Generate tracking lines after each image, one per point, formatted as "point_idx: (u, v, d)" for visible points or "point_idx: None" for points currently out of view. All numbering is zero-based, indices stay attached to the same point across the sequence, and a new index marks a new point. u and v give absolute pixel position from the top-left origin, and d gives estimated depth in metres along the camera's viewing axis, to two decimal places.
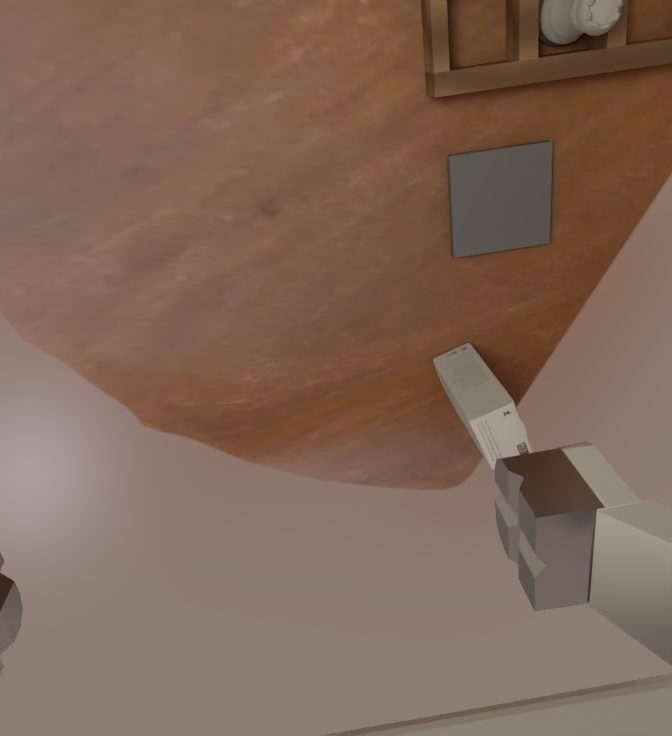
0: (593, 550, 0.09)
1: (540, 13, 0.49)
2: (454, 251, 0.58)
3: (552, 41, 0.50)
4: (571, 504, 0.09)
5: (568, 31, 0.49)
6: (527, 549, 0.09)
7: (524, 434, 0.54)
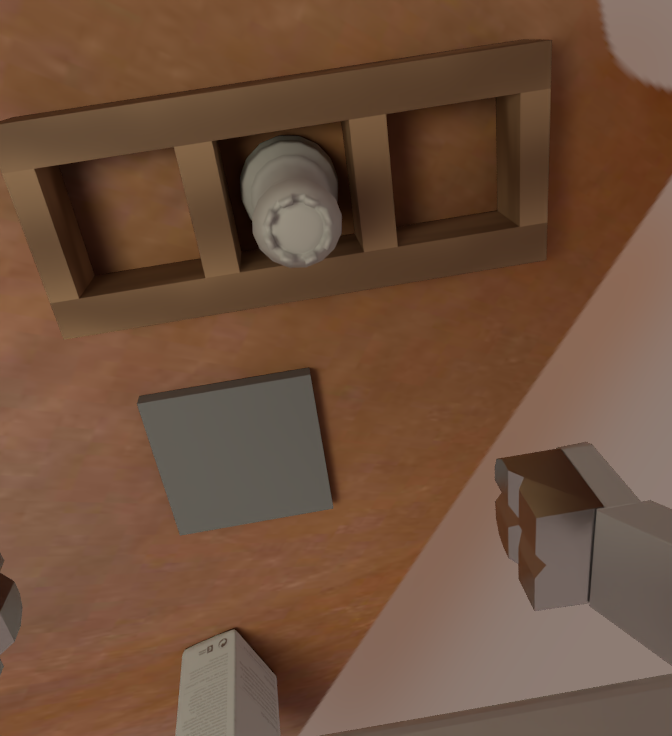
0: (593, 551, 0.09)
1: (242, 192, 0.28)
2: (178, 527, 0.37)
3: None
4: (571, 504, 0.09)
5: None
6: (527, 549, 0.09)
7: None
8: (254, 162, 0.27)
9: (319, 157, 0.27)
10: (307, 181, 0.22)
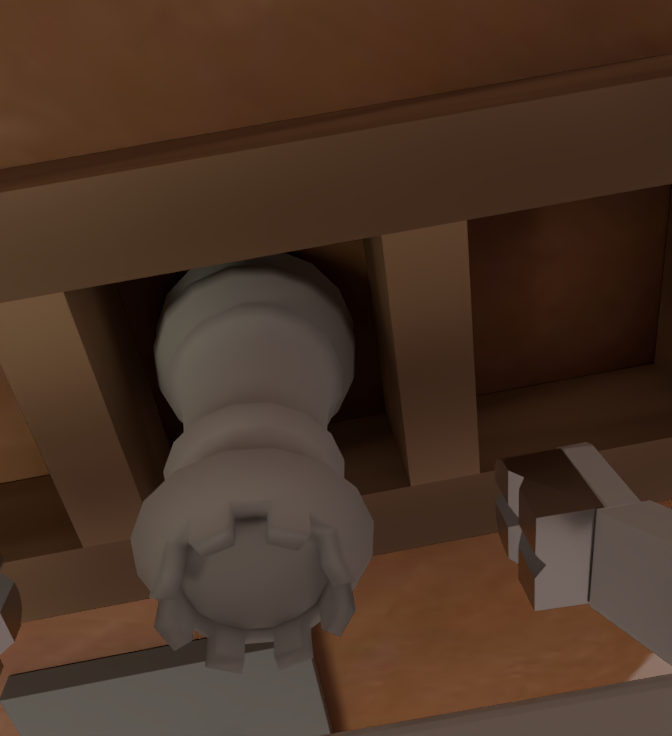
0: (593, 551, 0.09)
1: None
2: None
3: None
4: (571, 504, 0.09)
5: None
6: (527, 549, 0.09)
7: None
8: (176, 316, 0.13)
9: (314, 302, 0.13)
10: (278, 455, 0.08)
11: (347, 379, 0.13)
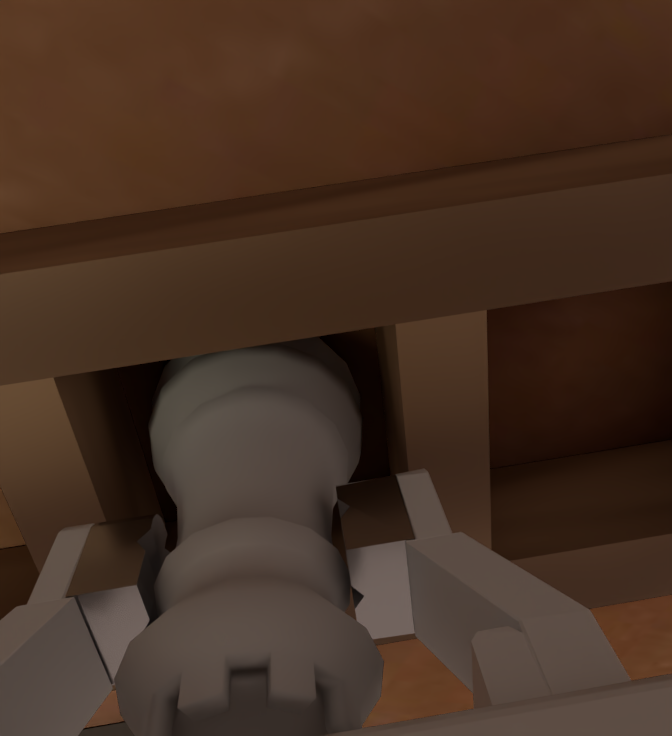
0: (410, 581, 0.09)
1: (152, 447, 0.13)
2: None
3: None
4: (384, 535, 0.09)
5: None
6: None
7: None
8: (173, 395, 0.12)
9: (320, 383, 0.12)
10: (280, 597, 0.07)
11: (353, 461, 0.13)
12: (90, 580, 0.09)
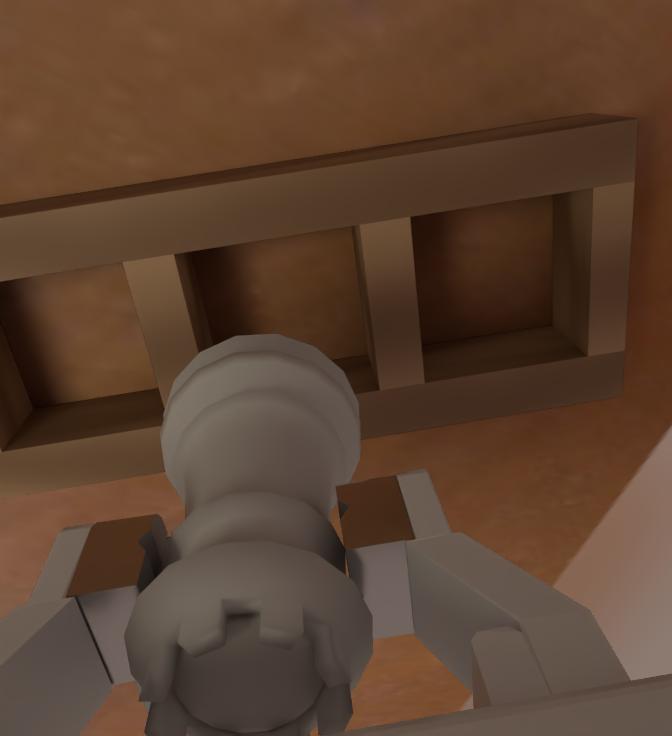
0: (410, 581, 0.09)
1: None
2: (146, 703, 0.29)
3: None
4: (384, 535, 0.09)
5: None
6: None
7: None
8: (181, 402, 0.13)
9: (318, 385, 0.13)
10: (271, 548, 0.08)
11: (352, 461, 0.13)
12: (89, 579, 0.09)
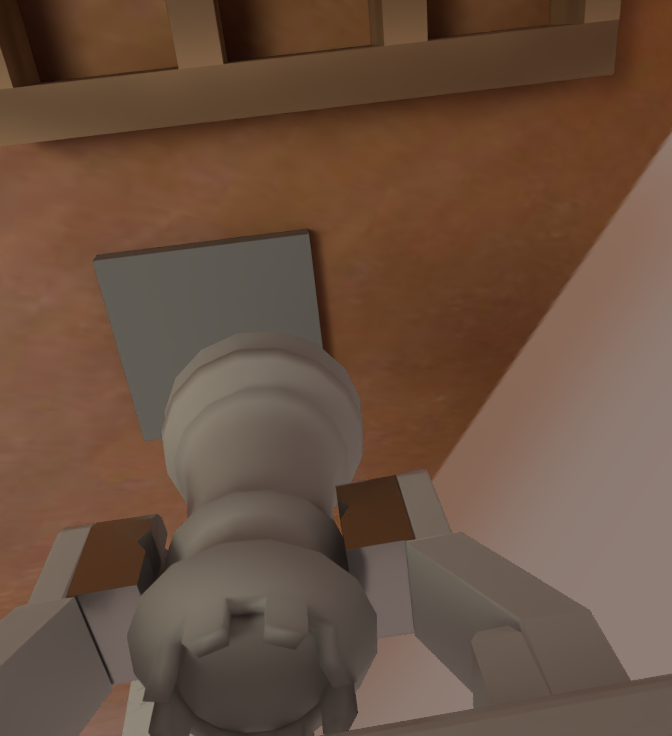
0: (410, 582, 0.09)
1: (165, 453, 0.13)
2: (143, 430, 0.30)
3: None
4: (384, 535, 0.09)
5: None
6: None
7: None
8: (183, 400, 0.13)
9: (319, 384, 0.13)
10: (275, 547, 0.08)
11: (355, 459, 0.13)
12: (90, 579, 0.09)
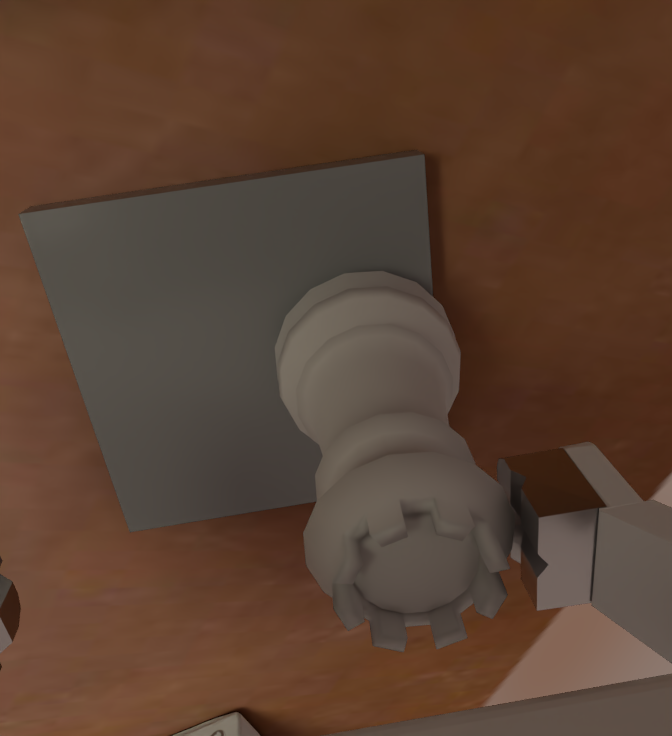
0: (596, 550, 0.09)
1: (281, 384, 0.15)
2: (126, 514, 0.18)
3: None
4: (573, 503, 0.09)
5: None
6: (529, 548, 0.09)
7: None
8: (301, 335, 0.14)
9: (426, 319, 0.14)
10: (436, 458, 0.09)
11: (455, 389, 0.15)
12: None
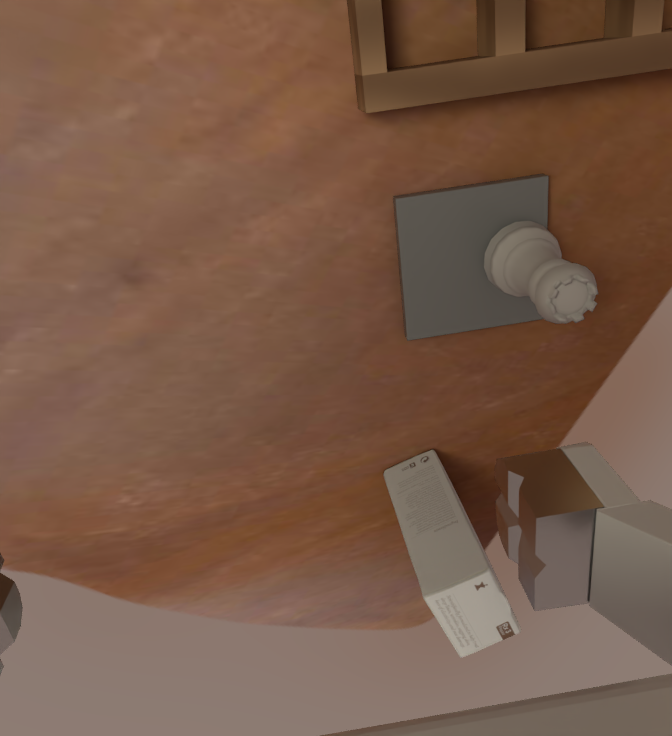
0: (593, 550, 0.09)
1: (492, 265, 0.37)
2: (407, 331, 0.40)
3: (511, 294, 0.38)
4: (571, 504, 0.09)
5: None
6: (527, 549, 0.09)
7: (507, 612, 0.36)
8: (504, 244, 0.37)
9: (551, 237, 0.37)
10: (576, 264, 0.32)
11: None
12: None
